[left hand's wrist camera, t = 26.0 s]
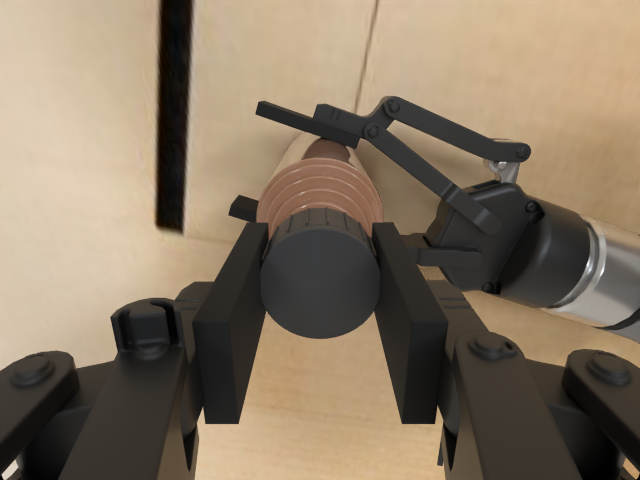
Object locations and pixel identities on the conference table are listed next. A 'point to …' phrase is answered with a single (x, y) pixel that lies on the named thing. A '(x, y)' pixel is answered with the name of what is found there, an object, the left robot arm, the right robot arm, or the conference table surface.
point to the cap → (320, 274)
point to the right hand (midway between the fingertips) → (247, 158)
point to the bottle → (319, 184)
